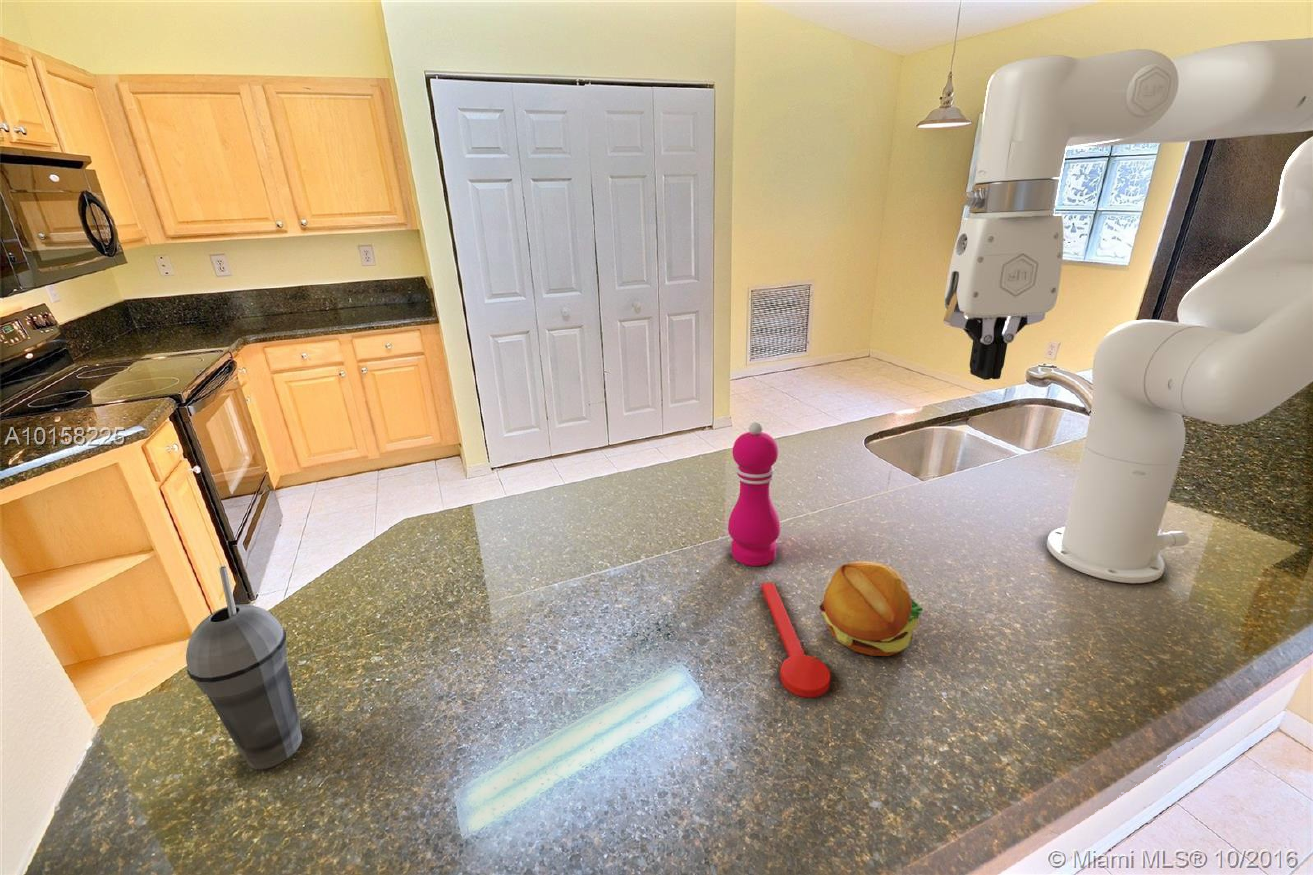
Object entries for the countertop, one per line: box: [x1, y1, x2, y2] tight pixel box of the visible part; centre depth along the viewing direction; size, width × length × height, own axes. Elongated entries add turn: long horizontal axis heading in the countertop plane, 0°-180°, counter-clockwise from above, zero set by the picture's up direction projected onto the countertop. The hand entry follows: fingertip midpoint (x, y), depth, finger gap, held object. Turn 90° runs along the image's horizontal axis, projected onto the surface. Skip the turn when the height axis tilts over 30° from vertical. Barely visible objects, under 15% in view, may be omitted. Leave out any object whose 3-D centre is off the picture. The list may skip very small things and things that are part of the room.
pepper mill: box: [727, 421, 781, 567], centre depth 79 cm, size 7×7×20 cm
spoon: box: [760, 582, 831, 699], centre depth 66 cm, size 5×18×1 cm, turn 4°
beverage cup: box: [185, 565, 303, 770], centre depth 51 cm, size 7×7×20 cm
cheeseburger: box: [818, 560, 924, 657], centre depth 64 cm, size 10×11×10 cm
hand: (984, 376), depth 65 cm, fingers closed
